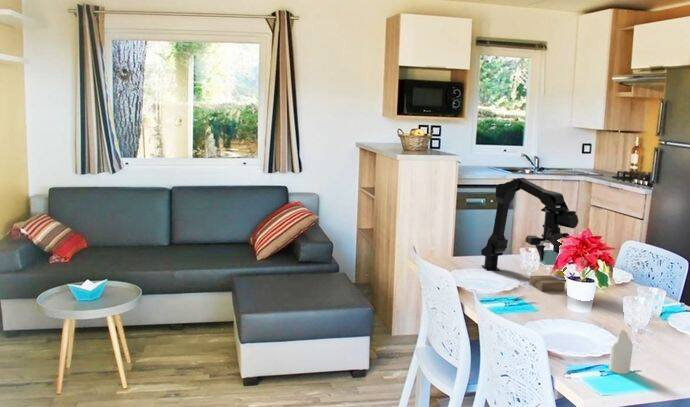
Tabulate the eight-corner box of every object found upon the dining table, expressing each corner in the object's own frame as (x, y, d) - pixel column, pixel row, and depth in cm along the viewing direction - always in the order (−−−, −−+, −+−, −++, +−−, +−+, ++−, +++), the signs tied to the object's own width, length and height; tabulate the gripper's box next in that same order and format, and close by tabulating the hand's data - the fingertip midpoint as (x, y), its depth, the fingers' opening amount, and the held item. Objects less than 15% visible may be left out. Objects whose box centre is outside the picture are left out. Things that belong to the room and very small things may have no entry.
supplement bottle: (553, 279, 269) (556, 250, 266) (552, 275, 275) (556, 247, 273) (569, 281, 267) (573, 252, 264) (568, 277, 273) (572, 249, 271)
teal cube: (539, 261, 257) (540, 249, 256) (550, 261, 257) (551, 250, 257) (544, 264, 252) (545, 252, 251) (556, 265, 253) (557, 253, 252)
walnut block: (529, 284, 260) (530, 275, 259) (550, 284, 262) (551, 275, 262) (541, 292, 250) (542, 283, 250) (563, 292, 253) (565, 282, 252)
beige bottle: (625, 335, 174) (608, 328, 179) (620, 375, 177) (603, 367, 181) (639, 332, 177) (622, 326, 182) (633, 372, 179) (617, 364, 184)
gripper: (538, 227, 243) (534, 266, 245) (583, 228, 245) (578, 266, 248) (526, 221, 254) (523, 258, 256) (569, 222, 256) (565, 259, 259)
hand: (547, 260), depth 255 cm, fingers closed on teal cube, 5 cm apart
